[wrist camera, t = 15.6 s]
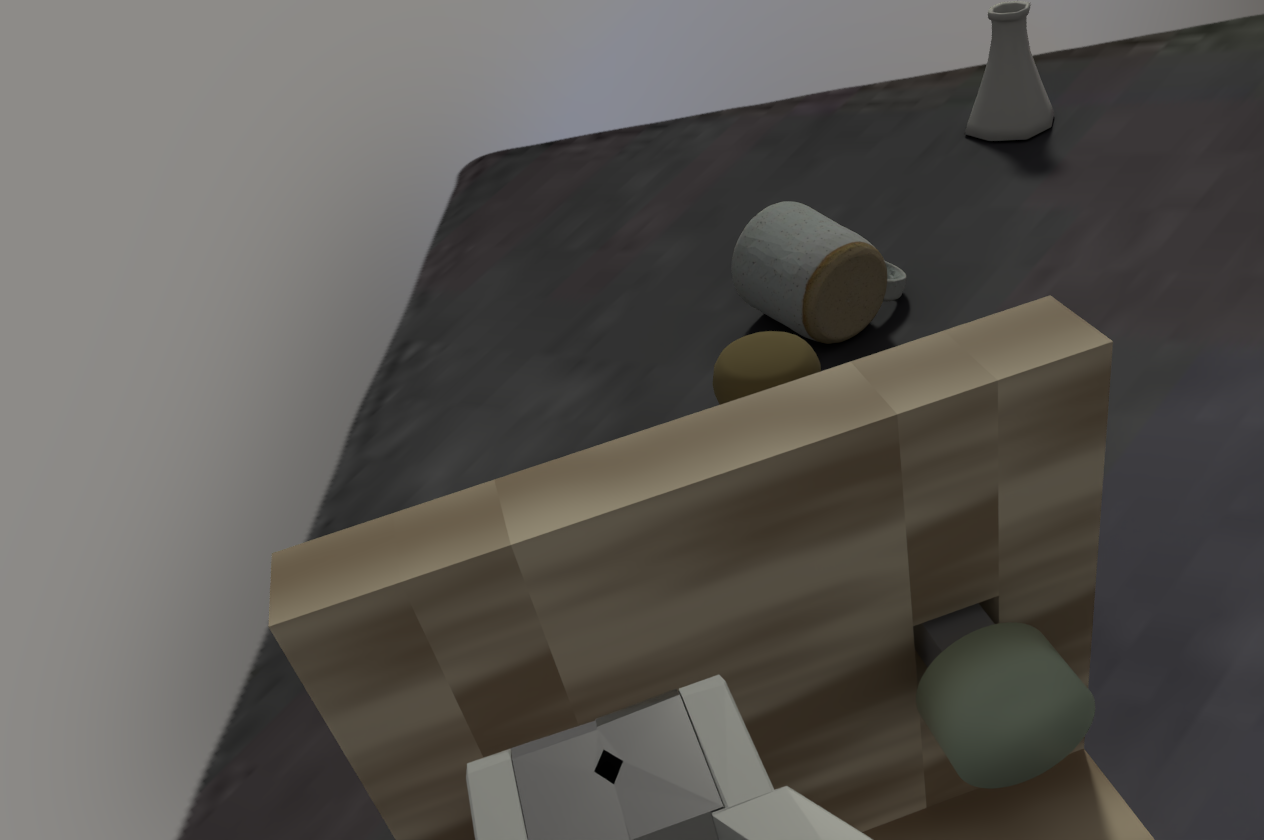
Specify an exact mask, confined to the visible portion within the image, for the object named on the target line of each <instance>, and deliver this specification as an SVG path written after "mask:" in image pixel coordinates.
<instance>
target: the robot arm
mask: <svg viewBox="0 0 1264 840" xmlns="http://www.w3.org/2000/svg"><path fill="white" fill-rule="evenodd" d="M466 782H467V788H468V795H469V801H470V808H471V815H472V821H473V828H474V835H475V840H873V839H871V838H870V837H868V836H867V835H865V834H863V833H862V832H860V831H859V830H857V829H855V828H854V827H852V826H851V825H849V824H847V823H846V822H844V821H843V820H841V819H839V818H838V817H836V816H835V815H833V814H831V813H830V812H828V811H827V810H825V809H823V808H822V807H820V806H819V805H817V804H815V803H814V802H812V801H811V800H809V799H807V798H806V797H804V796H803V795H801V794H799V793H798V792H796V791H795V790H793V789H791V788H790V787H788V786H785V787H781V788H778V789H775V790H774V788H773V786H772V784H771V781H770V779H769V777H768V775H767V772H766V770H765V768H764V766H763V764H762V761H761V759H760V757H759V755H758V752H757V750H756V748H755V746H754V744H753V741H752V739H751V737H750V735H749V732H748V730H747V728H746V726H745V724H744V721H743V719H742V717H741V715H740V712H739V710H738V708H737V706H736V704H735V701H734V699H733V697H732V695H731V693H730V690H729V688H728V686H727V684H726V681H725V680H724V679H723V678H722V677H721V676H720V675H716V676H713V677H710V678H708V679H705V680H702V681H699V682H696V683H694V684H691V685H688V686H685V687H682V688H679V690H678V691H677V689H674V690H671V691H669V692H666V693H663V694H661V695H658V696H655V697H653V698H650V699H647V700H645V701H642V702H639V703H636V704H634V705H631V706H628V707H626V708H623V709H620V710H618V711H615V712H612V713H610V714H607V715H604V716H601V717H599V718H596V719H595V721H592V722H589V723H586V724H583V725H580V726H577V727H574V728H571V729H568V730H565V731H562V732H559V733H556V734H553V735H550V736H547V737H543V738H540V739H537V740H534V741H531V742H528V743H525V744H522V745H519V746H516V747H513V748H511V749H508V750H505V751H502V752H499V753H496V754H493V755H490V756H487V757H484V758H481V759H478V760H476V761H473V762H470V763H467V770H466Z"/></svg>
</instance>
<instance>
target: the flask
mask: <svg viewBox="0 0 1264 840" xmlns="http://www.w3.org/2000/svg"><path fill="white" fill-rule="evenodd" d="M1029 9H1030V3H1029V2H1021V1H1013V2H1002V3H1000V4H997V5H995V6H993V7H990V9H989V12H988V18H989V19H990V20H992V41H991V47H990V52H989V58H988V62H987V66H986V69H985V72H984V75H983V79H982V82H981V85H980V89H979V92H978V95H977V98H976V101H975V103H974V106H973V109H972V112H971V115H970V118H969V121H968V124H967V127H966V130H965V134H966V135H969V136H973V137H977V138H980V139H984V140H988V141H1005V140H1026V139H1029V138H1031V137H1033V136H1035V135H1037V134H1039V133H1041V132H1043V131H1045V130H1046V129H1048V128H1050V127H1052V121H1053V116H1054V112H1053V109H1052V106H1051V104H1050V101H1049V99H1048V96H1047V94H1046V91H1045V89H1044V86H1043V84H1042V81H1041V79H1040V76H1039V73H1038V71H1037V68H1036V65H1035V62H1034V60H1033V57H1032V54H1031V51H1030V46H1029V41H1028V35H1027V29H1026V16H1027V15H1028V13H1029Z"/></svg>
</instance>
